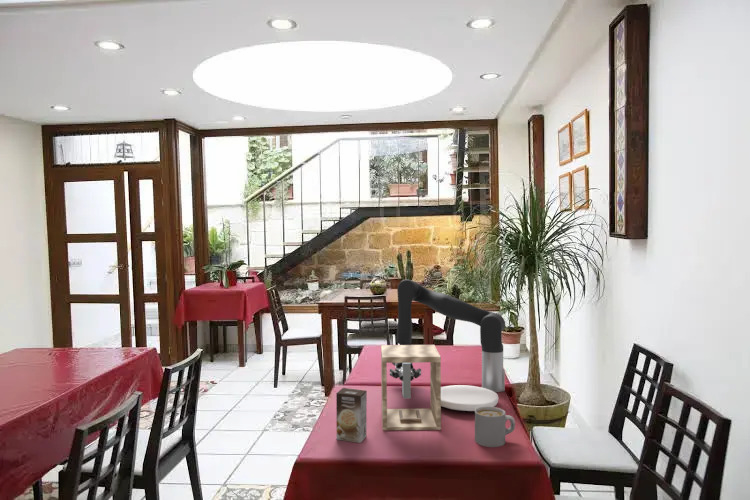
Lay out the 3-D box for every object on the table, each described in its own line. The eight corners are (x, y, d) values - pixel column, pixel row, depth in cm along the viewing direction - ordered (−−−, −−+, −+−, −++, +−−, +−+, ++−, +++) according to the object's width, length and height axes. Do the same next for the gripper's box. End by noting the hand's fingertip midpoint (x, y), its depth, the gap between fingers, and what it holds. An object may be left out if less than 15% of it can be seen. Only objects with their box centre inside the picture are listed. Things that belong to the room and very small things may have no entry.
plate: (429, 382, 227) (491, 383, 227) (429, 398, 227) (491, 398, 226) (435, 396, 199) (505, 396, 199) (435, 414, 199) (506, 414, 198)
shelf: (434, 411, 205) (434, 344, 204) (440, 429, 186) (440, 356, 185) (381, 411, 205) (381, 345, 204) (382, 430, 186) (382, 357, 185)
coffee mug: (476, 446, 172) (476, 416, 171) (473, 434, 182) (473, 406, 181) (518, 447, 170) (518, 417, 170) (513, 435, 180) (513, 407, 180)
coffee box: (335, 439, 178) (334, 392, 177) (342, 432, 184) (342, 387, 184) (360, 443, 175) (360, 395, 174) (367, 436, 181) (367, 389, 181)
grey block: (409, 393, 217) (409, 359, 216) (410, 398, 211) (410, 363, 210) (402, 393, 217) (402, 359, 216) (403, 398, 211) (403, 363, 210)
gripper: (387, 358, 227) (389, 369, 210) (420, 358, 227) (424, 369, 210) (388, 375, 228) (389, 388, 210) (420, 375, 228) (424, 387, 211)
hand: (406, 378), depth 210 cm, fingers closed on grey block, 3 cm apart
